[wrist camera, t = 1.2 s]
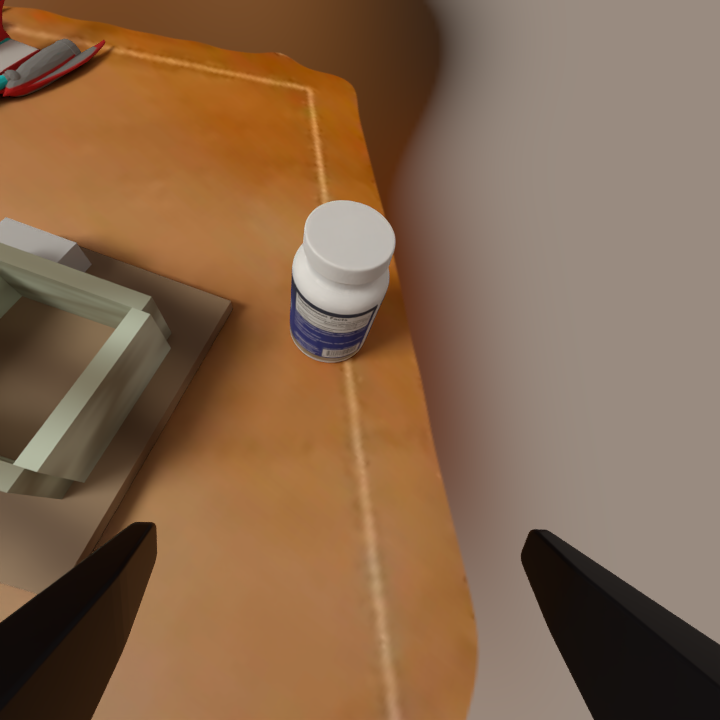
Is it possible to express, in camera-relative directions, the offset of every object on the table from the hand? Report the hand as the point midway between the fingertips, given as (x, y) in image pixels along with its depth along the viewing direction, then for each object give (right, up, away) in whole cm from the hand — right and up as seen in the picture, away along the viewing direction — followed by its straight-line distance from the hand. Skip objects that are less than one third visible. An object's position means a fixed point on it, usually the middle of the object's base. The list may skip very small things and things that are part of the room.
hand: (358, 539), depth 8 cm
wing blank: (-21, +10, +14) cm, 27 cm away
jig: (-18, +3, +12) cm, 22 cm away
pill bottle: (-2, +6, +18) cm, 19 cm away
